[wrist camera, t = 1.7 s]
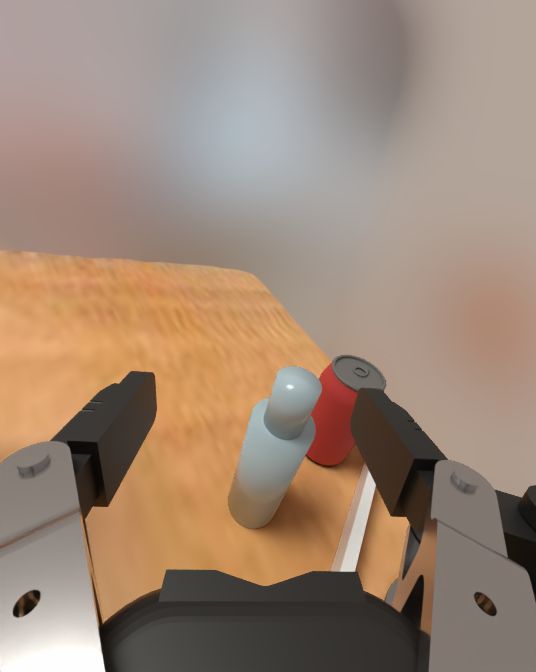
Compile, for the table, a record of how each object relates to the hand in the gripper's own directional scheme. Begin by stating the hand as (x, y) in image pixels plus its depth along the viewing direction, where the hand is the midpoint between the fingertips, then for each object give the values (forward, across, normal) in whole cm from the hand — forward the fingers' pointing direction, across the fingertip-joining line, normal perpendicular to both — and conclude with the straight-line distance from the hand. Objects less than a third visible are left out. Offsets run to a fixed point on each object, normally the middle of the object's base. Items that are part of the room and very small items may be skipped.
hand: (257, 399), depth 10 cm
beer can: (+16, -10, +17) cm, 26 cm away
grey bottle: (+9, -1, +18) cm, 20 cm away
